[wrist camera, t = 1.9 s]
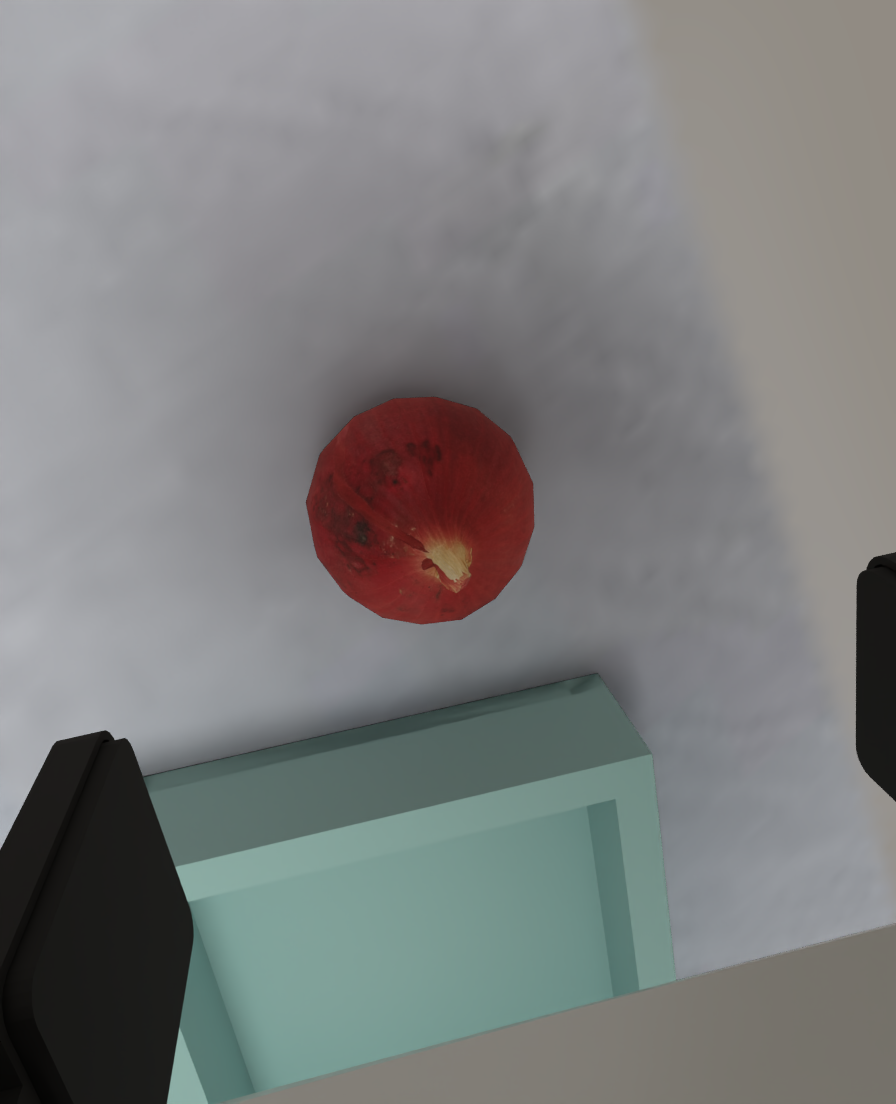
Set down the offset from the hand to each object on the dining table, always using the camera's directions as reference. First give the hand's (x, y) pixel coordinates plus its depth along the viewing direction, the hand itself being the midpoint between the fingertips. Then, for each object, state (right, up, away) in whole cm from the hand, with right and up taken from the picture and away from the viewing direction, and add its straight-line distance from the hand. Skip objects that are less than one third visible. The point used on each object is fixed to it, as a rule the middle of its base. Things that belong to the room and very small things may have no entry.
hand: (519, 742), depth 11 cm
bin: (-2, -11, +20) cm, 23 cm away
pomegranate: (-2, +5, +15) cm, 16 cm away
